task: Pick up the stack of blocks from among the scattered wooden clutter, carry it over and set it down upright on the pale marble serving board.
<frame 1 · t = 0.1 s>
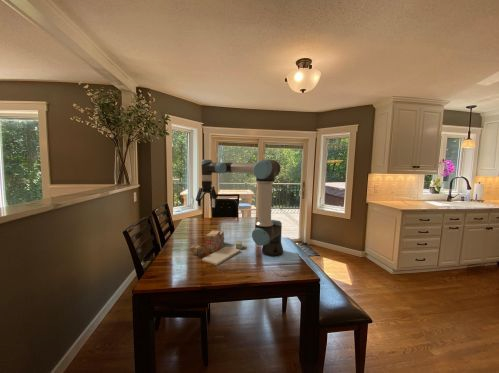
hand: (206, 208, 172), 28 cm above the table, fingers open, 13 cm apart
walnut cylinder: (201, 256, 153), on the table
oak cube: (195, 253, 157), on the table
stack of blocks: (215, 247, 170), on the table
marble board: (222, 255, 154), on the table
sage block: (239, 247, 170), on the table
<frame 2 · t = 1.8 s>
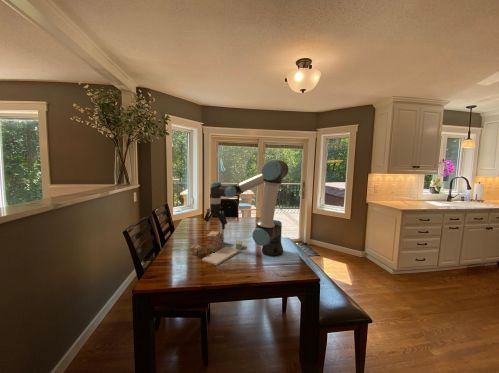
hand: (215, 231, 169), 12 cm above the table, fingers open, 13 cm apart
nothing on the table moved.
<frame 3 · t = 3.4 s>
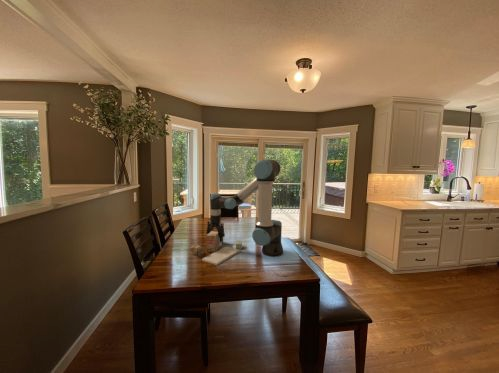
hand: (215, 244, 170), 2 cm above the table, fingers closed on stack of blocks, 8 cm apart
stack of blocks: (215, 247, 170), on the table, touching gripper
everything else where it was.
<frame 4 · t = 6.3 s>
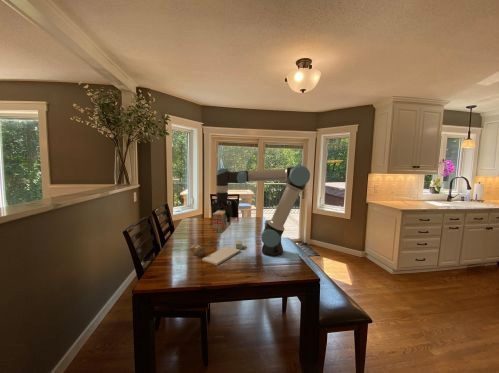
hand: (222, 225, 152), 21 cm above the table, fingers closed on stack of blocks, 8 cm apart
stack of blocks: (222, 228, 152), point 19 cm above the table, touching gripper
everything else where it was.
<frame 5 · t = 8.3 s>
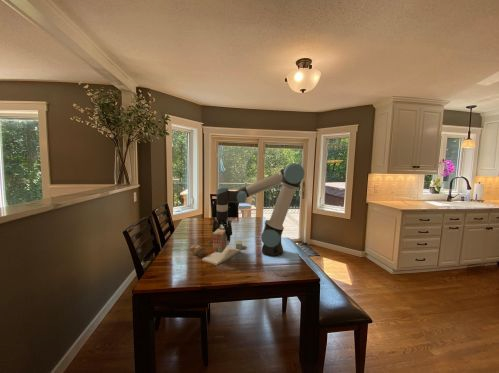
hand: (221, 243, 153), 8 cm above the table, fingers closed on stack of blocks, 8 cm apart
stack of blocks: (222, 246, 154), point 6 cm above the table, touching gripper
everything else where it was.
when the fingers open (4 cm above the table, at t = 9.6 s): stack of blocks drops 1 cm, resting on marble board.
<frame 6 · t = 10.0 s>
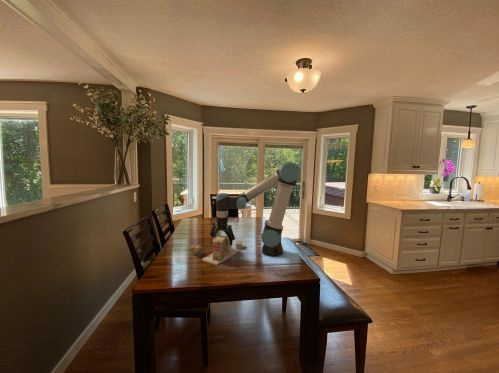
hand: (222, 248, 153), 5 cm above the table, fingers open, 12 cm apart
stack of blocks: (222, 254, 154), point 1 cm above the table, touching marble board
everything else where it was.
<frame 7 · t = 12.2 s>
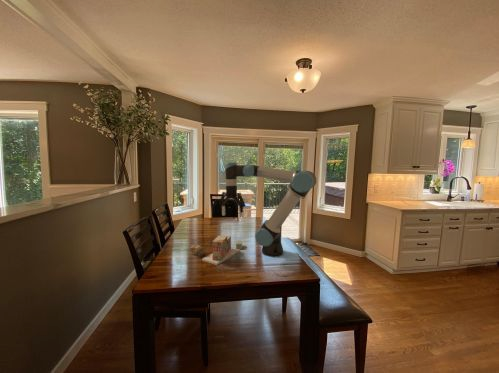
hand: (232, 216, 156), 26 cm above the table, fingers open, 13 cm apart
nothing on the table moved.
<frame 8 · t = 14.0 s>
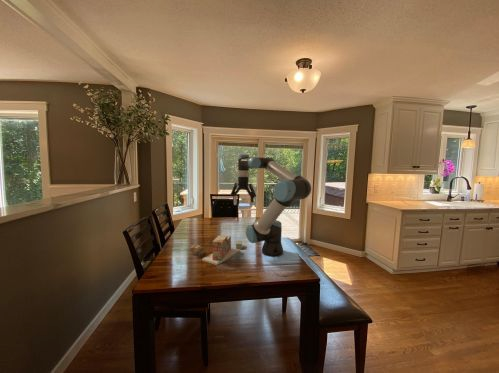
hand: (243, 205, 165), 32 cm above the table, fingers open, 13 cm apart
nothing on the table moved.
at the end: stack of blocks inside the target area on the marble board (0.5 cm from its centre), point 1.0 cm above the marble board's base; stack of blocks tilted 0°; the gripper is holding nothing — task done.
